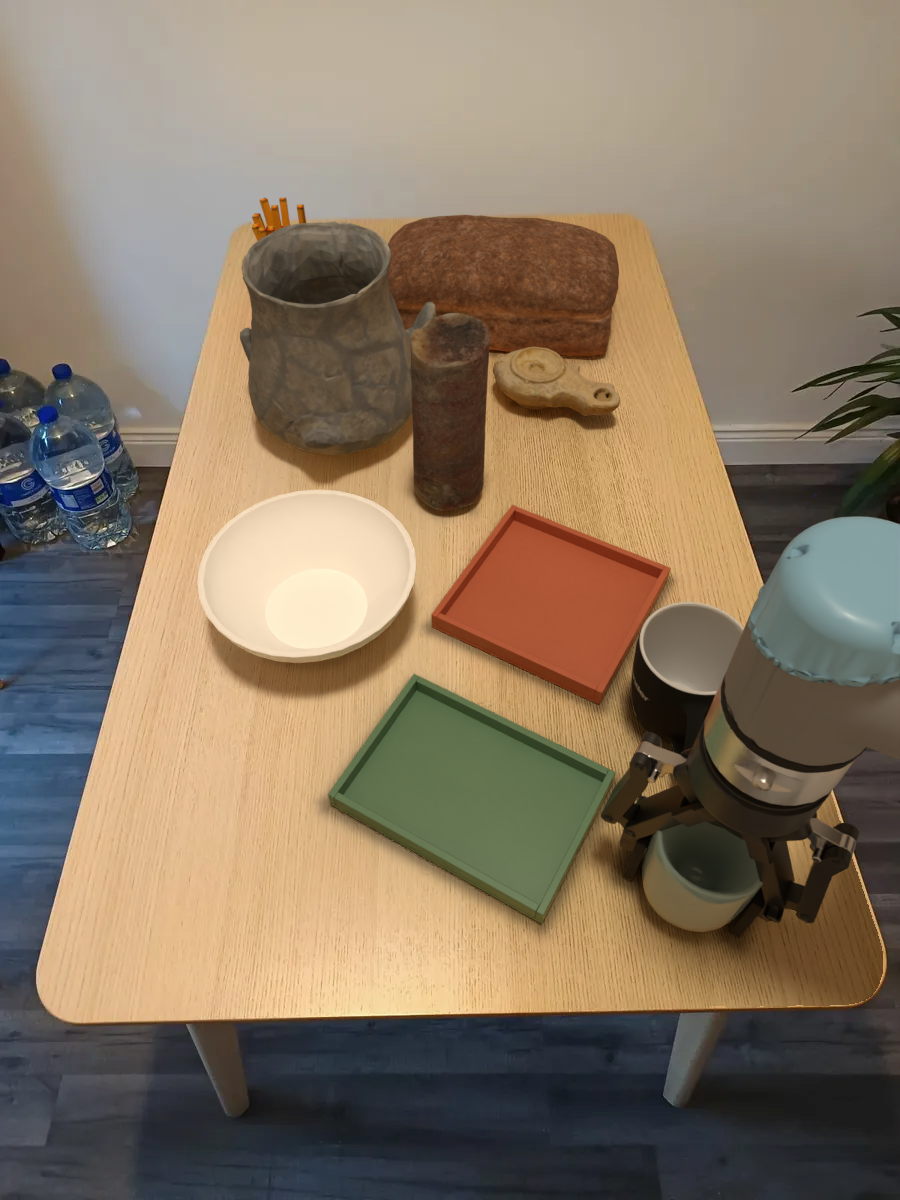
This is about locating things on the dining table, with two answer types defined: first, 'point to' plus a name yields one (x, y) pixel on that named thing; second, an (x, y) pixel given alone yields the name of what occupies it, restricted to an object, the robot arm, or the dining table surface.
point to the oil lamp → (551, 383)
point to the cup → (698, 876)
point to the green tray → (475, 794)
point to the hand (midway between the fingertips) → (685, 890)
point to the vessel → (327, 338)
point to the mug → (681, 668)
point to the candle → (449, 409)
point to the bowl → (307, 575)
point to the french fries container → (274, 217)
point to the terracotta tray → (552, 602)
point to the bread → (510, 279)
